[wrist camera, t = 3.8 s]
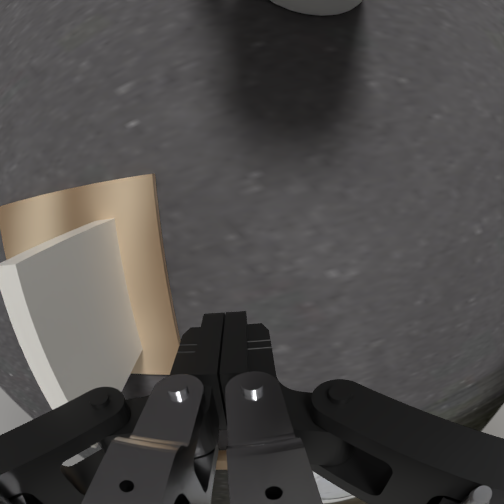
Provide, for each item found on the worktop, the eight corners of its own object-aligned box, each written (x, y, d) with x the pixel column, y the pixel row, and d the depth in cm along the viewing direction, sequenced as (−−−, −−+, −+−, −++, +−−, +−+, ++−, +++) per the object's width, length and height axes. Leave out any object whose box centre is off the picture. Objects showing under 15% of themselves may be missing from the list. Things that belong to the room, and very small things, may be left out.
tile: (114, 218, 14) (15, 264, 6) (142, 349, 16) (95, 448, 9) (93, 221, 14) (-9, 266, 6) (123, 348, 16) (71, 442, 9)
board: (154, 173, 14) (152, 173, 14) (187, 370, 17) (186, 374, 17) (1, 206, 14) (-3, 207, 14) (44, 360, 17) (41, 363, 17)
